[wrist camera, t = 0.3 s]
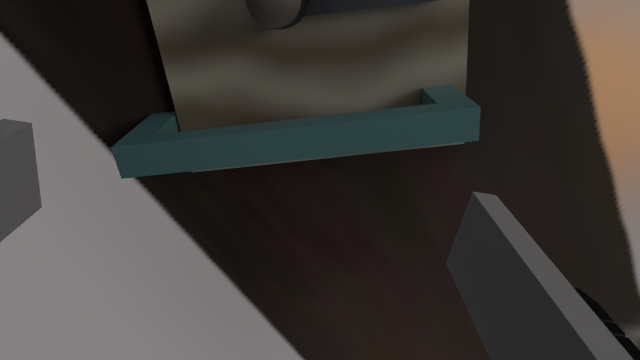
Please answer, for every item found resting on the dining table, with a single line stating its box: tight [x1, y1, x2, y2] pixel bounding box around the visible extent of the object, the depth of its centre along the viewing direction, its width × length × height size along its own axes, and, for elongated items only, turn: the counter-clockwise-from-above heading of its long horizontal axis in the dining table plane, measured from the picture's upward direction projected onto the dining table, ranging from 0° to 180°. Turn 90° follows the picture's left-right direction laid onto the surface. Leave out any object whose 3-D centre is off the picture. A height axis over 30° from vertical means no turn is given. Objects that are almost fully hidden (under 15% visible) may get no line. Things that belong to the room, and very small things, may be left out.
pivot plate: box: [147, 0, 469, 172], centre depth 32 cm, size 20×25×9 cm
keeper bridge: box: [111, 85, 480, 178], centre depth 35 cm, size 2×26×8 cm, turn 96°
